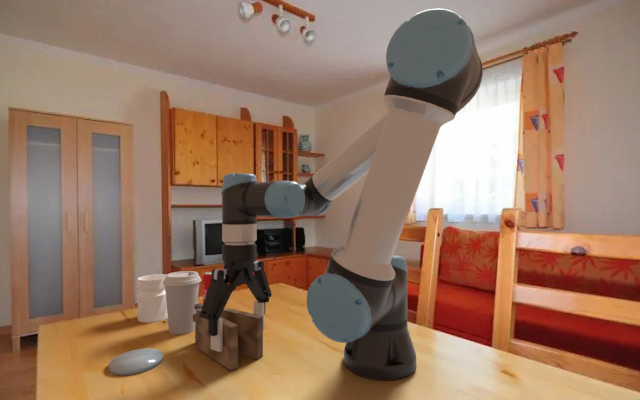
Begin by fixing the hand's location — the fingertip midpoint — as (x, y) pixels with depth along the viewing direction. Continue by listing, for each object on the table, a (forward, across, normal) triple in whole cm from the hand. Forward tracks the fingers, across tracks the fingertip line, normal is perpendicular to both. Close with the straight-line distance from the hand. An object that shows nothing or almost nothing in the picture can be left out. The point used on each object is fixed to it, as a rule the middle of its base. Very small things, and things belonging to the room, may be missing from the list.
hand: (239, 339), depth 75 cm
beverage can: (+4, -18, -30) cm, 35 cm away
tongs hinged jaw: (+3, +3, -5) cm, 7 cm away
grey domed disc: (+4, +14, -16) cm, 21 cm away
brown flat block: (+4, 0, -5) cm, 6 cm away
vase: (+4, -5, -40) cm, 40 cm away
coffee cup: (+4, -3, -24) cm, 24 cm away
